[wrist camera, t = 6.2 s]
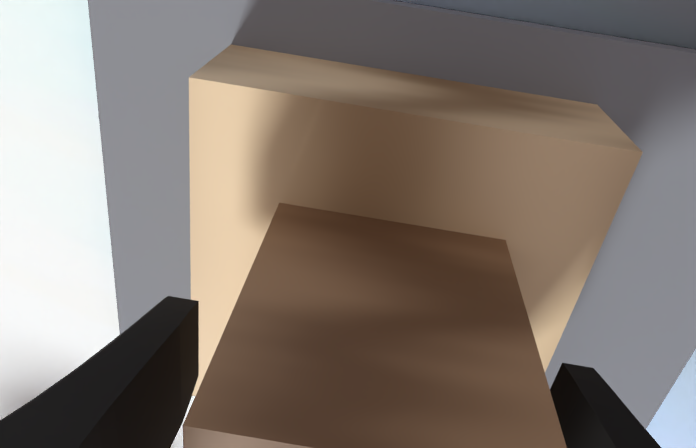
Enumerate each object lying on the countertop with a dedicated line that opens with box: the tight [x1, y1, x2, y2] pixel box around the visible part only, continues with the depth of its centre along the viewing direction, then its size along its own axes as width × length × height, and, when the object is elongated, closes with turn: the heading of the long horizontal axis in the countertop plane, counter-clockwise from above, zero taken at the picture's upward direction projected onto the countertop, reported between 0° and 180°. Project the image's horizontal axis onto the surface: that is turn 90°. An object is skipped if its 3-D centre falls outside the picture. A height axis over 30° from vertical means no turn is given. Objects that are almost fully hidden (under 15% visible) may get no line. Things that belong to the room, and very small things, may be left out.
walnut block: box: [183, 203, 567, 448], centre depth 11 cm, size 5×5×6 cm
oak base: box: [189, 45, 643, 396], centre depth 14 cm, size 9×9×3 cm
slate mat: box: [88, 0, 696, 429], centre depth 16 cm, size 18×14×1 cm
